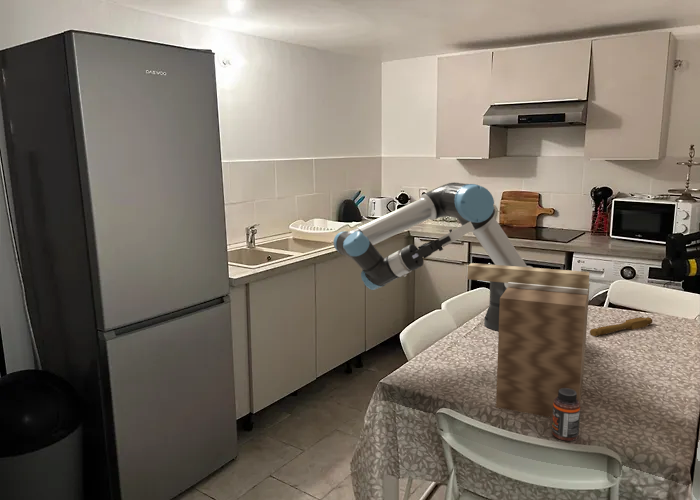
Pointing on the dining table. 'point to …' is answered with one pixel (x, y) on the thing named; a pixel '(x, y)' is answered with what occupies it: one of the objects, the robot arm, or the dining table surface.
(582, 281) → the beech bar
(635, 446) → the dining table surface
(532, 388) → the brown wavy patterned box
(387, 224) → the robot arm
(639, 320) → the wooden spindle
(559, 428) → the supplement bottle
